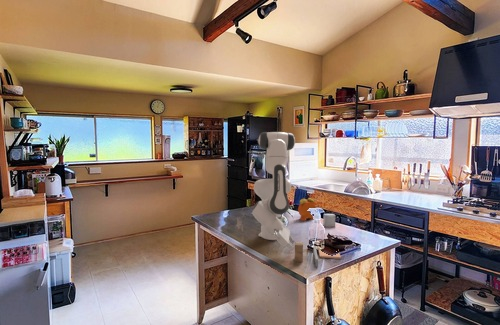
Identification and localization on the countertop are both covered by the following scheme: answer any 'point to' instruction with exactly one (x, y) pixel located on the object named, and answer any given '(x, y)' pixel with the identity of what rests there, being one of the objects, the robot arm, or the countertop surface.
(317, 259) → the acrylic wall
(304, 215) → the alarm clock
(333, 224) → the medicine box
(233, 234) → the countertop surface
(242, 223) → the countertop surface
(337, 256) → the pad
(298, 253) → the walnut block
